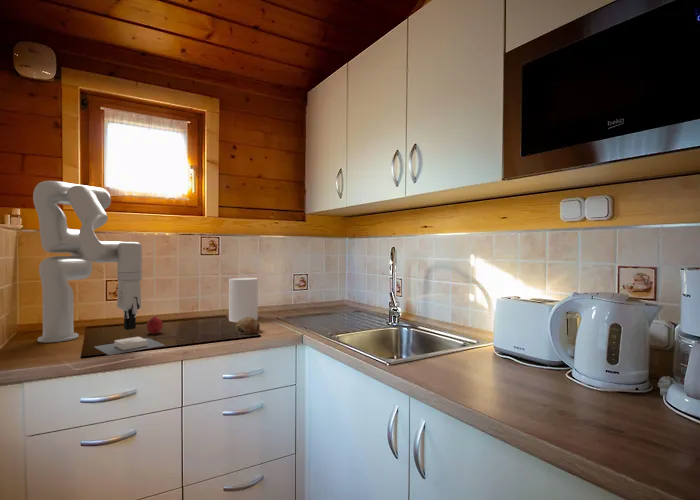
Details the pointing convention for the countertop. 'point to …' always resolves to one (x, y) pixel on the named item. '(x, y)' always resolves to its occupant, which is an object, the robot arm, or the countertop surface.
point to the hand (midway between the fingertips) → (129, 328)
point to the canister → (243, 298)
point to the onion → (154, 325)
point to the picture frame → (130, 343)
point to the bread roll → (247, 326)
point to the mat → (112, 350)
